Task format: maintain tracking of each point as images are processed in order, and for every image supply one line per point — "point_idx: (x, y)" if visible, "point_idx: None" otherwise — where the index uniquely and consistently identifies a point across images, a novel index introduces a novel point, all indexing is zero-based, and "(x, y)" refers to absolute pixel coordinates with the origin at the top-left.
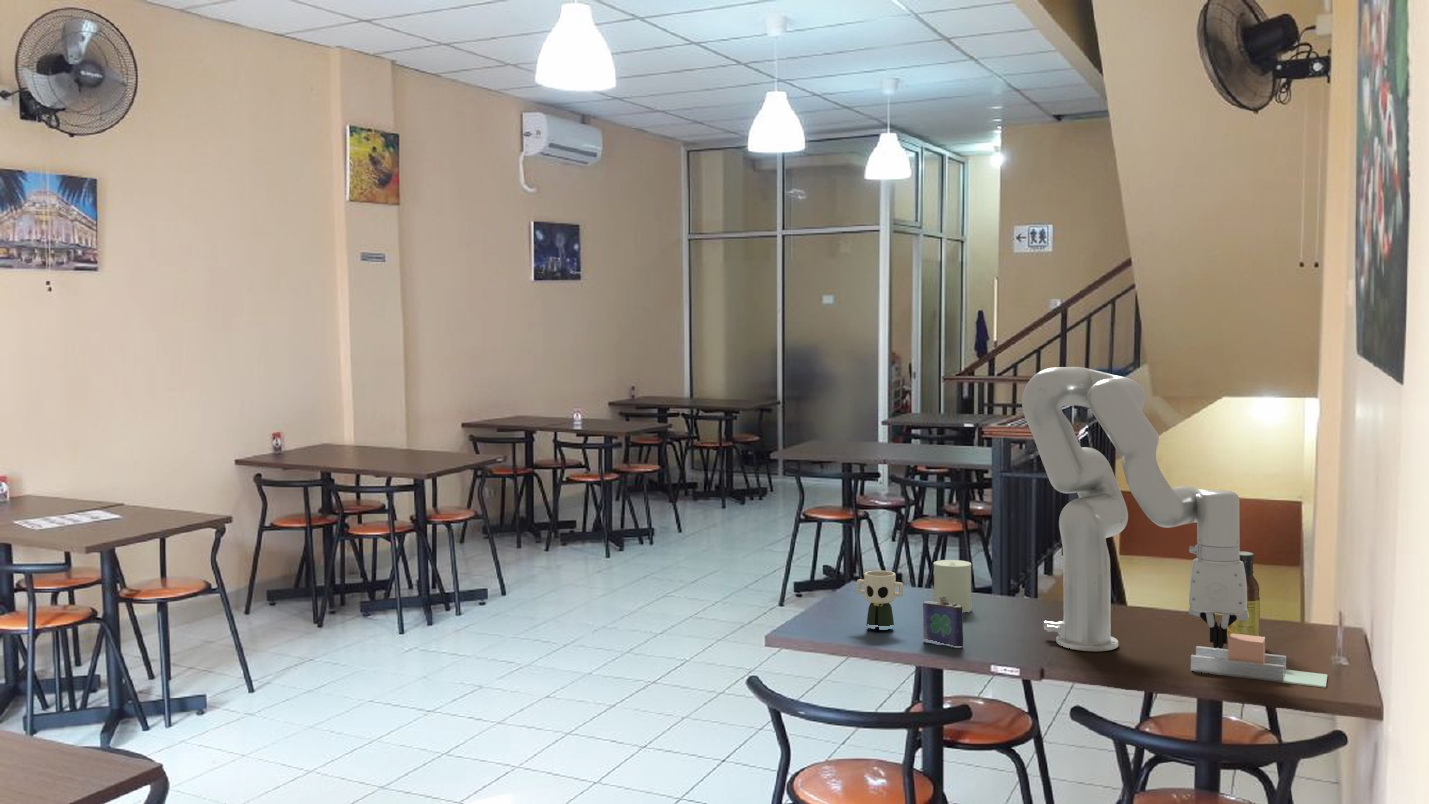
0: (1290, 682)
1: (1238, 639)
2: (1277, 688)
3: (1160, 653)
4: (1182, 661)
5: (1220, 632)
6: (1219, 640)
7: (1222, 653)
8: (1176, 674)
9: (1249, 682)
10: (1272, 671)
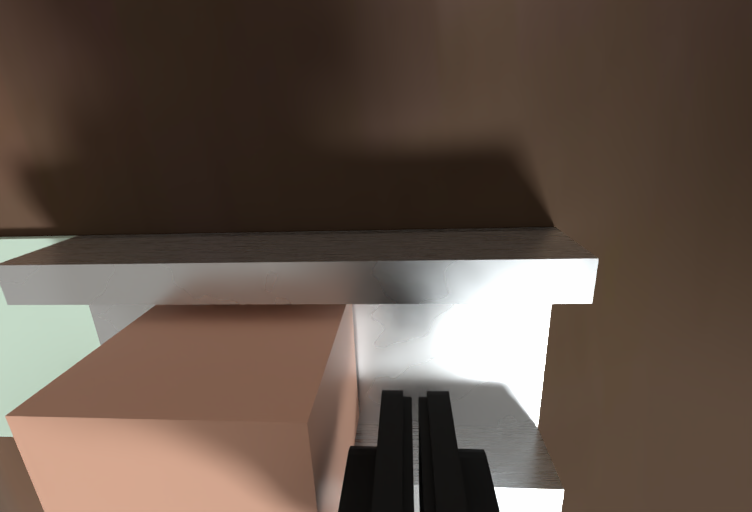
0: (41, 238)
1: (221, 445)
2: (60, 99)
3: (716, 501)
4: (603, 407)
5: (387, 506)
6: (399, 435)
7: None
8: (645, 110)
9: (218, 151)
10: (86, 253)
